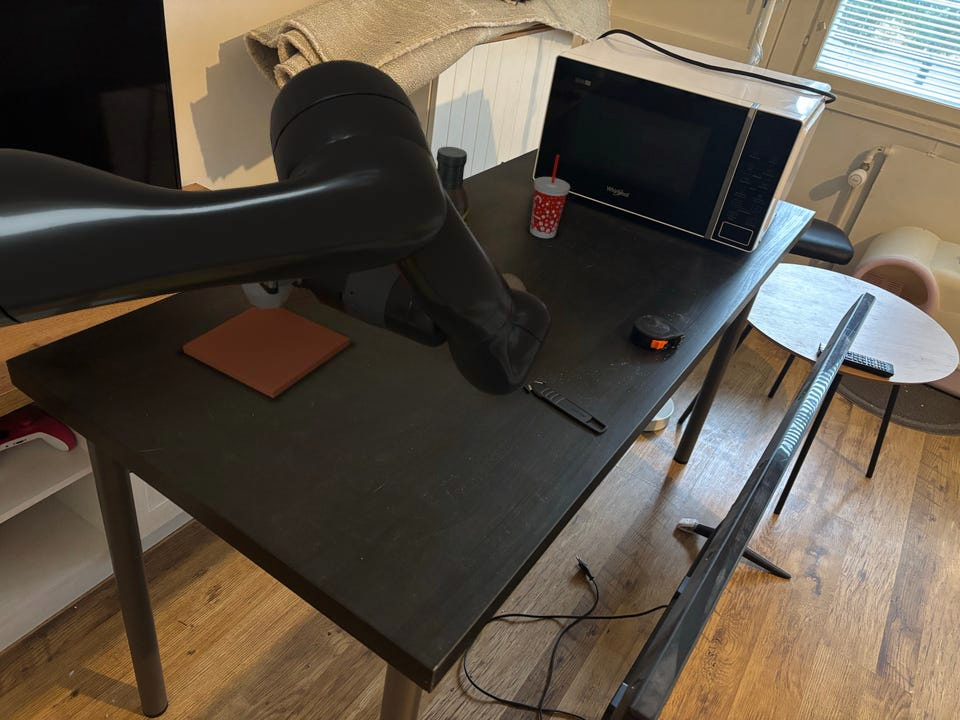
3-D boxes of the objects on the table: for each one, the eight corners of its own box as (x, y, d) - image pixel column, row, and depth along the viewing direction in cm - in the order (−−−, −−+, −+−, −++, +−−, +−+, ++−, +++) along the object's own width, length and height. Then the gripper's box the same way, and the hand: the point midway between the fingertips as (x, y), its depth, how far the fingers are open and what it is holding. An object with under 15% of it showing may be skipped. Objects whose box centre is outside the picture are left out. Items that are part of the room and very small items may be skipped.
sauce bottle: (464, 290, 109) (482, 161, 98) (424, 292, 107) (437, 160, 96) (452, 269, 114) (468, 143, 103) (413, 270, 112) (424, 142, 101)
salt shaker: (233, 296, 87) (224, 192, 80) (275, 282, 91) (271, 182, 83) (260, 318, 84) (254, 212, 76) (303, 303, 88) (301, 201, 80)
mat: (273, 398, 84) (272, 391, 83) (183, 352, 89) (182, 345, 88) (349, 344, 94) (349, 338, 94) (265, 305, 99) (265, 299, 98)
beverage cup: (525, 222, 131) (539, 146, 123) (559, 227, 132) (575, 151, 124) (525, 237, 126) (540, 159, 118) (560, 242, 127) (577, 164, 119)
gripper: (408, 231, 81) (286, 186, 87) (325, 279, 71) (194, 223, 77) (403, 290, 85) (288, 243, 91) (325, 343, 75) (201, 286, 81)
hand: (246, 234), depth 84 cm, fingers closed on salt shaker, 3 cm apart
